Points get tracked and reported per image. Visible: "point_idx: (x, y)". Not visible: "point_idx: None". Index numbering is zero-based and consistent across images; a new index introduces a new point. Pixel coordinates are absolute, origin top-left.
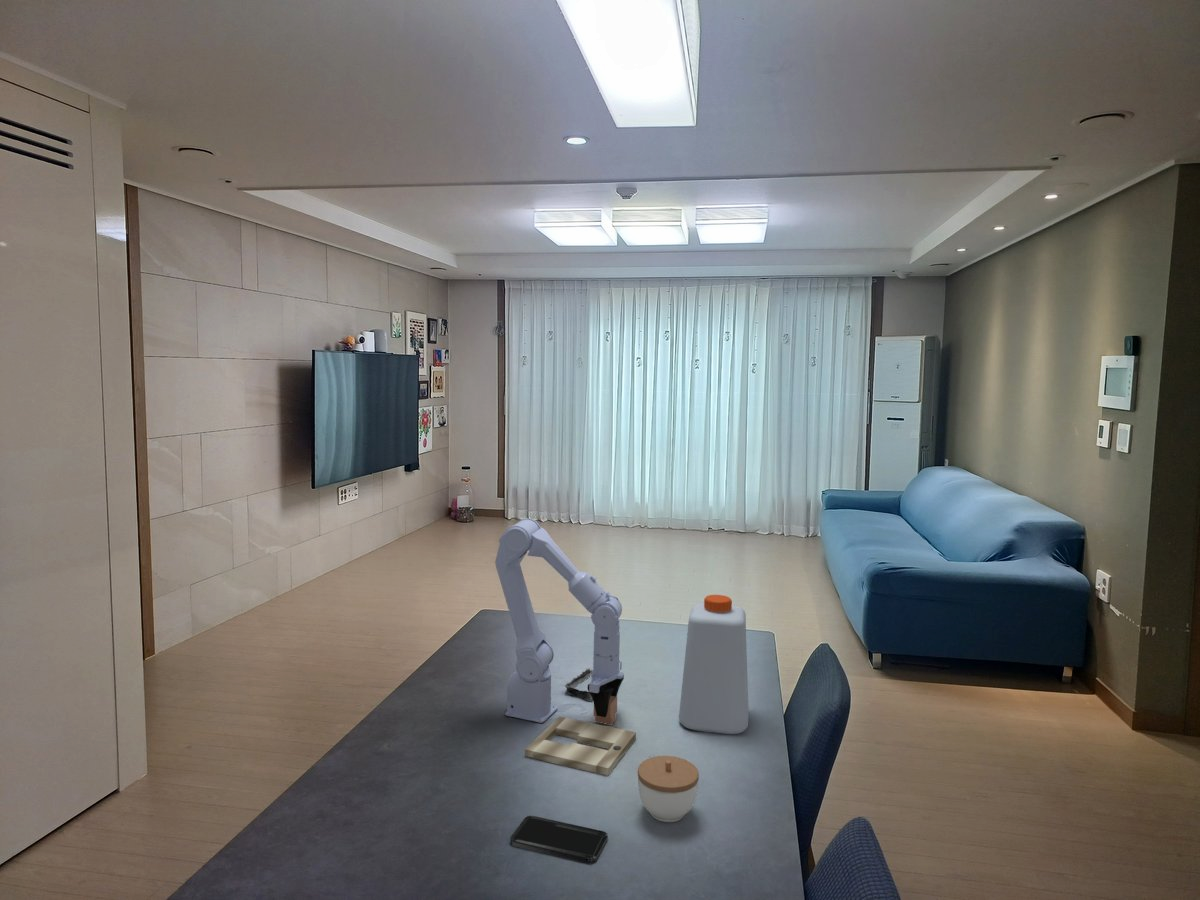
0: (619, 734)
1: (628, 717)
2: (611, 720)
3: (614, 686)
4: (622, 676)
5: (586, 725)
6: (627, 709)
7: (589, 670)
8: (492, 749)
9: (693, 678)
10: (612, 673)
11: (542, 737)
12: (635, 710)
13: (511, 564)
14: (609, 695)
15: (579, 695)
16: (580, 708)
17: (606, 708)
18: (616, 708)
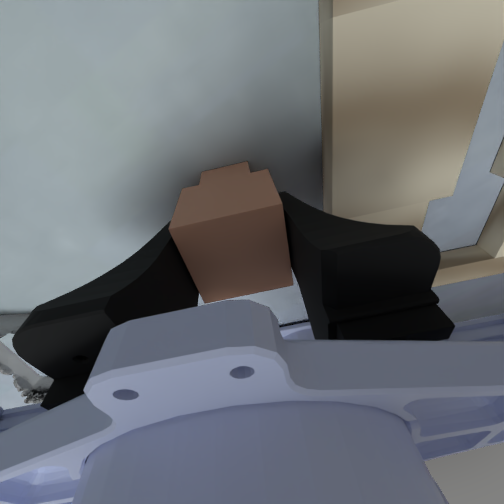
0: (401, 12)
1: (130, 141)
2: (249, 169)
3: (160, 291)
4: (204, 330)
5: (359, 217)
6: (77, 191)
7: (30, 396)
8: (499, 310)
9: None
10: (383, 472)
11: (481, 268)
12: (46, 155)
13: None
14: (356, 229)
15: None
16: (210, 302)
17: (304, 203)
18: (186, 195)
